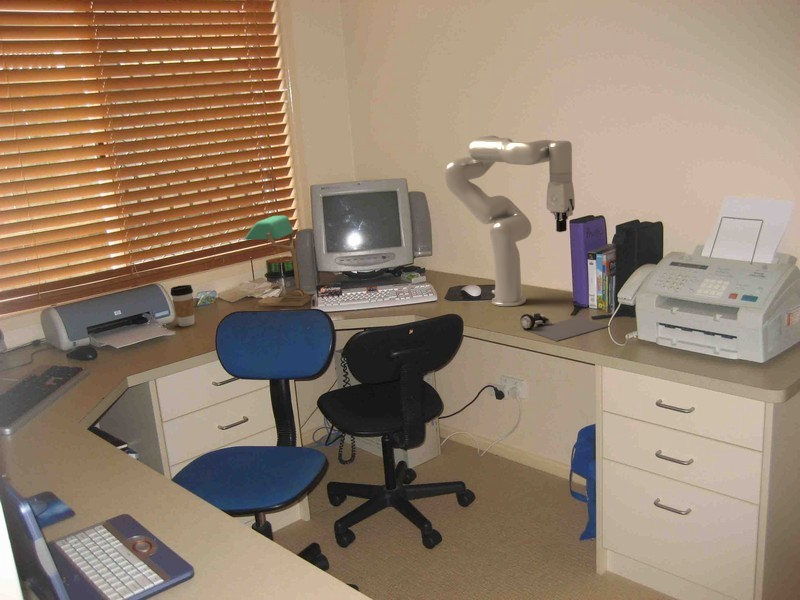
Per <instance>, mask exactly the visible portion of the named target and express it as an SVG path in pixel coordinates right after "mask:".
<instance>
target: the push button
mask: <svg viewBox="0 0 800 600" xmlns="http://www.w3.org/2000/svg"><path fill="white" fill-rule="evenodd" d="M545 316H546V315H545V314H543V313H542V314H541V313H540V312H538V313H534V314H533V315H532V314H528V313H526V314H525V313H524V314H523V315H521V316H520V320H519V322H520V323H519V324H520V327H521V328H522V329H523V330H525V331H528V330H531V329H534V327H535V325H536V326H540V325H542V326H545V325H550V324H553V322H552V321H550V318H548V317H545Z"/></svg>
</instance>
